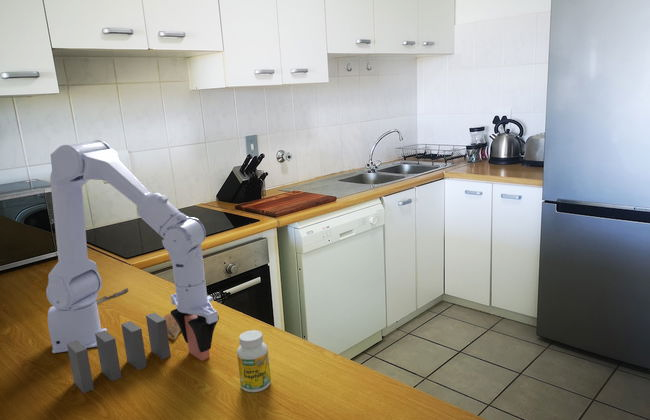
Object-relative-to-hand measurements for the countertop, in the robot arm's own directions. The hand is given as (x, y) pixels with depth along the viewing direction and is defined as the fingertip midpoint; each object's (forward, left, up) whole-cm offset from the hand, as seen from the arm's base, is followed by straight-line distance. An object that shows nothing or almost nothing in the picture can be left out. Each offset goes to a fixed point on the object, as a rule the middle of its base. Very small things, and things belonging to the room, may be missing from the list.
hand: (198, 345), depth 99 cm
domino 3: (-12, +1, -2) cm, 12 cm away
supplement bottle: (+10, -14, -2) cm, 17 cm away
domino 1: (-21, -4, -2) cm, 21 cm away
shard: (-5, +15, -3) cm, 16 cm away
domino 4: (-8, +3, -2) cm, 8 cm away
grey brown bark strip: (-23, +39, -3) cm, 45 cm away
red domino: (0, 0, -2) cm, 2 cm away
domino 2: (-16, -2, -2) cm, 16 cm away
